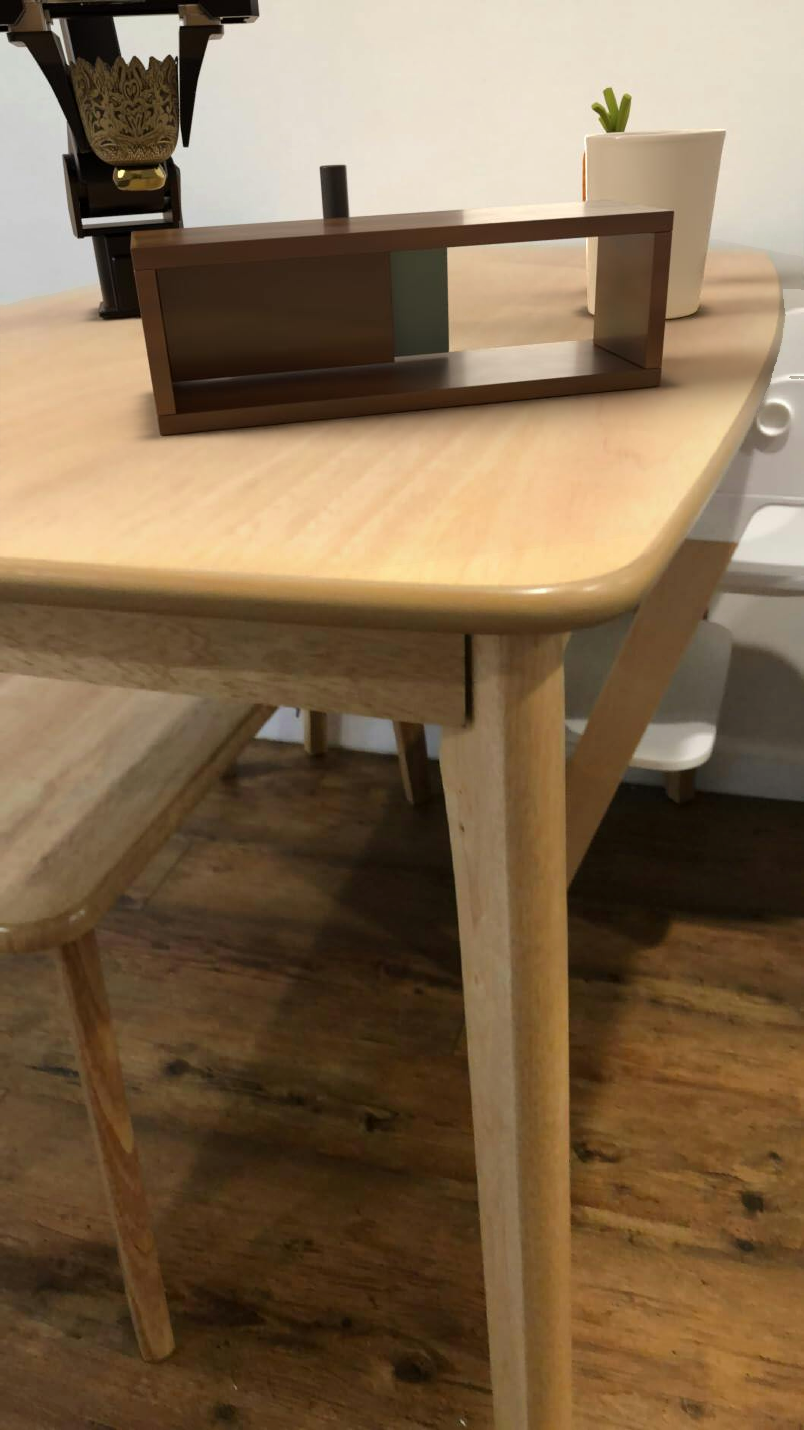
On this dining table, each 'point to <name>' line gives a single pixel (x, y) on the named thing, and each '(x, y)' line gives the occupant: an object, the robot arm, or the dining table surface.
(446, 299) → the dark piece
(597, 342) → the display case
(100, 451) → the dining table surface
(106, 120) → the cup
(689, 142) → the white plant pot
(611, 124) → the carrot
